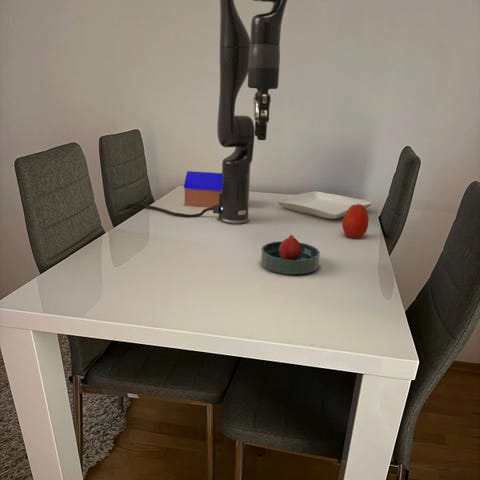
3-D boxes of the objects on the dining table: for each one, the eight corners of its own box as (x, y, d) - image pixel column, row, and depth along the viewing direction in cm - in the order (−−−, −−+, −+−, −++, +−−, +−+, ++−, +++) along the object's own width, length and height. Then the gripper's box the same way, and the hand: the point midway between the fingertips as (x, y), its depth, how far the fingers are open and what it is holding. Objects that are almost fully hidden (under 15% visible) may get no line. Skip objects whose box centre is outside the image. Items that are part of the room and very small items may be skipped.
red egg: (349, 230, 151) (354, 198, 146) (371, 236, 146) (377, 203, 141) (335, 235, 146) (340, 202, 141) (357, 242, 141) (363, 207, 136)
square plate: (372, 211, 175) (374, 201, 173) (334, 224, 157) (335, 213, 155) (314, 198, 191) (315, 189, 189) (273, 209, 173) (274, 198, 171)
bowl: (250, 267, 119) (251, 252, 117) (276, 251, 130) (277, 237, 128) (304, 281, 112) (305, 265, 110) (326, 263, 124) (328, 248, 122)
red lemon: (276, 259, 123) (278, 230, 119) (297, 259, 124) (300, 230, 120) (279, 267, 118) (282, 237, 114) (301, 267, 118) (304, 237, 115)
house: (235, 209, 171) (236, 177, 165) (183, 205, 173) (183, 173, 168) (240, 201, 181) (241, 171, 176) (191, 198, 183) (191, 168, 178)
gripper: (282, 66, 104) (277, 142, 112) (276, 67, 116) (271, 135, 124) (250, 65, 104) (247, 141, 111) (246, 66, 116) (244, 134, 124)
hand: (260, 138), depth 118 cm, fingers open, 8 cm apart
